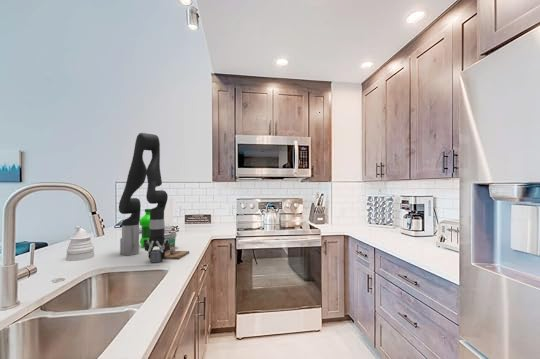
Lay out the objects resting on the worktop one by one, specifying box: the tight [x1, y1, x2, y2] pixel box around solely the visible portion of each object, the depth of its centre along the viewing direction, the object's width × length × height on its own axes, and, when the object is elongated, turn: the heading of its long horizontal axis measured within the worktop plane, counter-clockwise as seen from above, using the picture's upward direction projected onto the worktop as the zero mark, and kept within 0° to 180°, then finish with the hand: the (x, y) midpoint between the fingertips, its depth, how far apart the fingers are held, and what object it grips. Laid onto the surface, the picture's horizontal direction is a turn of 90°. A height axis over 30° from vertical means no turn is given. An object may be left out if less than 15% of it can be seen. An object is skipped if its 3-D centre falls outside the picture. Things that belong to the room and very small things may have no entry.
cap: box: [149, 248, 164, 263], centre depth 144 cm, size 6×6×5 cm
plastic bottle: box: [139, 208, 152, 247], centre depth 181 cm, size 10×10×25 cm
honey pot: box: [65, 225, 95, 262], centre depth 153 cm, size 13×13×18 cm
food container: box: [163, 231, 178, 251], centre depth 173 cm, size 12×6×10 cm, turn 168°
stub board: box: [163, 246, 190, 261], centre depth 156 cm, size 14×14×5 cm
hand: (156, 258), depth 144 cm, fingers closed on cap, 6 cm apart
